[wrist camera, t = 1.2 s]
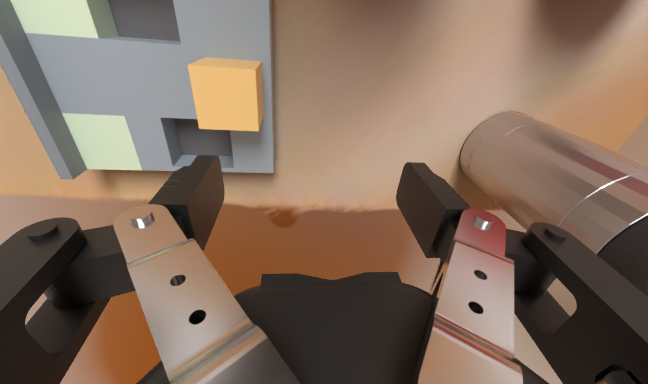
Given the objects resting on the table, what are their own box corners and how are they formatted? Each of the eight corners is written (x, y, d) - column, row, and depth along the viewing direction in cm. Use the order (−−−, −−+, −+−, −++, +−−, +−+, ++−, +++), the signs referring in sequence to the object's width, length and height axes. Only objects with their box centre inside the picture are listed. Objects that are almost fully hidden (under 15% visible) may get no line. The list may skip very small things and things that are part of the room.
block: (261, 61, 22) (255, 69, 19) (263, 114, 25) (258, 131, 21) (205, 57, 22) (187, 64, 18) (213, 111, 24) (199, 128, 20)
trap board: (271, -28, 22) (265, -39, 17) (275, 160, 31) (272, 182, 26) (4, -59, 19) (-77, -81, 15) (95, 155, 28) (60, 179, 24)
